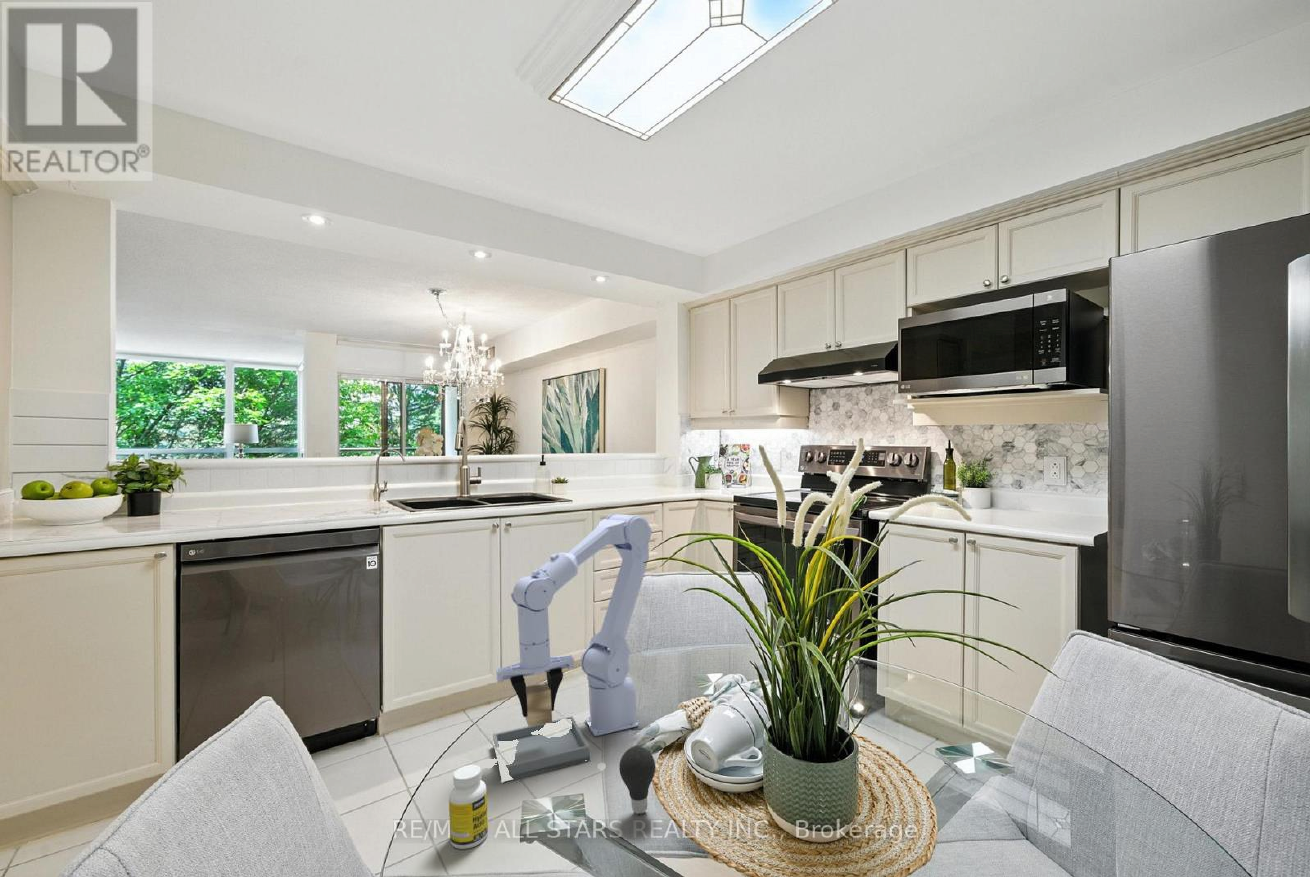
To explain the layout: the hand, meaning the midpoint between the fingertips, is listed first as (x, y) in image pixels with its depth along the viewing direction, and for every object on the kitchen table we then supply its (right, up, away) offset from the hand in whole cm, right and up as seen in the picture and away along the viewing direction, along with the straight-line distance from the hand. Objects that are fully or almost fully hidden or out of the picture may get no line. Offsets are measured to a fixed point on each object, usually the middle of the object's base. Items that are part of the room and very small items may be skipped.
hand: (538, 712), depth 109 cm
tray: (+1, -8, 0) cm, 8 cm away
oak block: (0, -1, 0) cm, 2 cm away
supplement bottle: (-5, -8, -24) cm, 26 cm away
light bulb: (+20, -6, -20) cm, 29 cm away
